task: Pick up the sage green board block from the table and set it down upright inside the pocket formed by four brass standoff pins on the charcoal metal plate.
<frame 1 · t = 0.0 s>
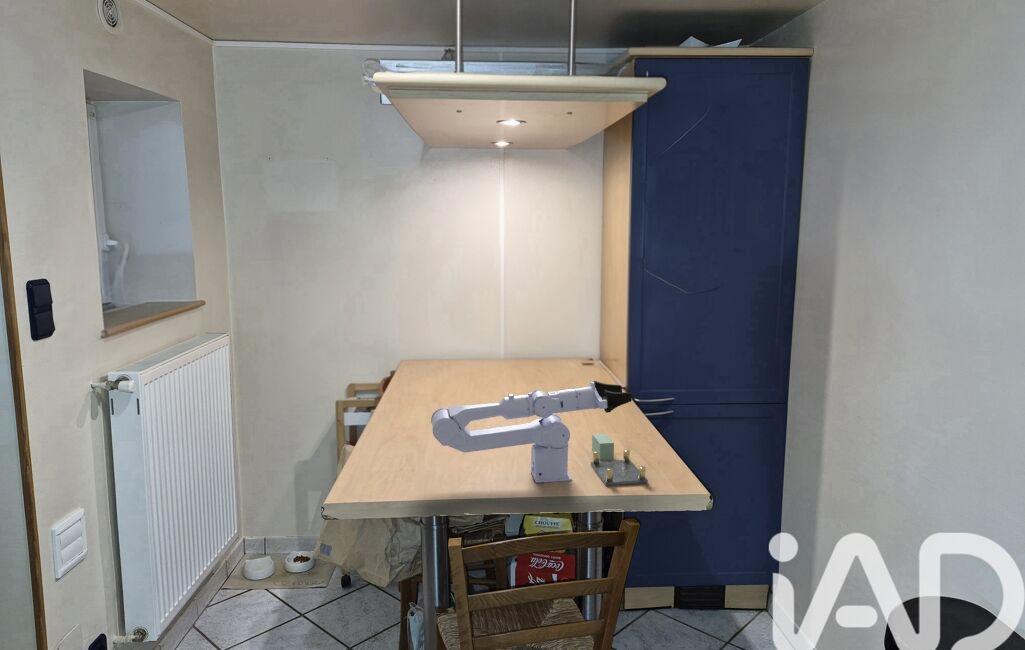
hand: (626, 393, 182), 22 cm above the table, tool horizontal, fingers open, 7 cm apart
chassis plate: (618, 474, 184), on the table
board block: (602, 455, 198), on the table
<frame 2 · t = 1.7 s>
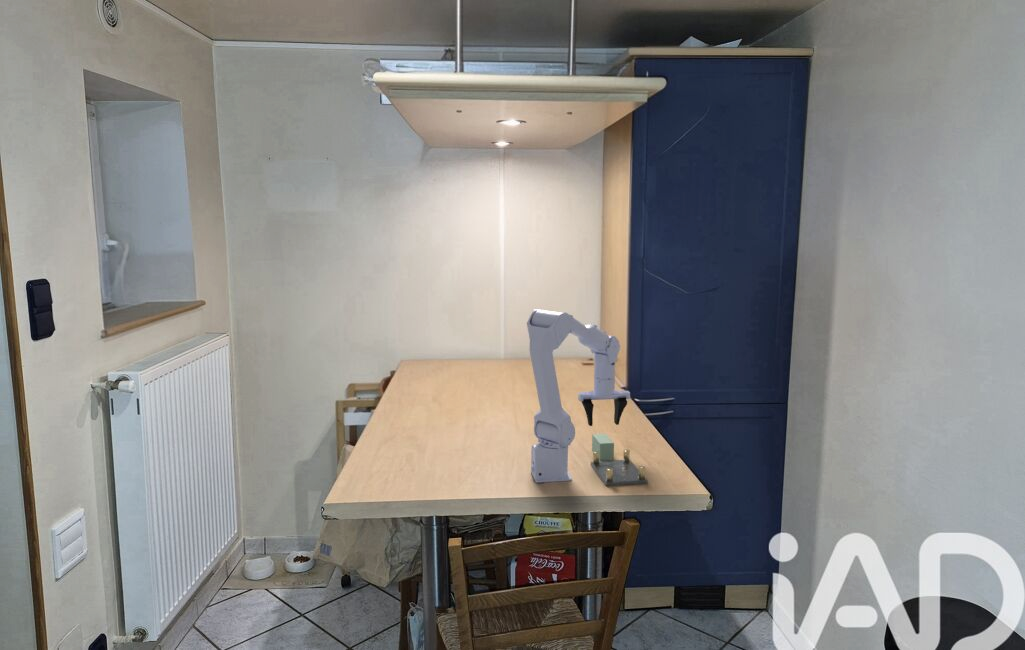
hand: (603, 424, 196), 9 cm above the table, tool pointing down, fingers open, 7 cm apart
nothing on the table moved.
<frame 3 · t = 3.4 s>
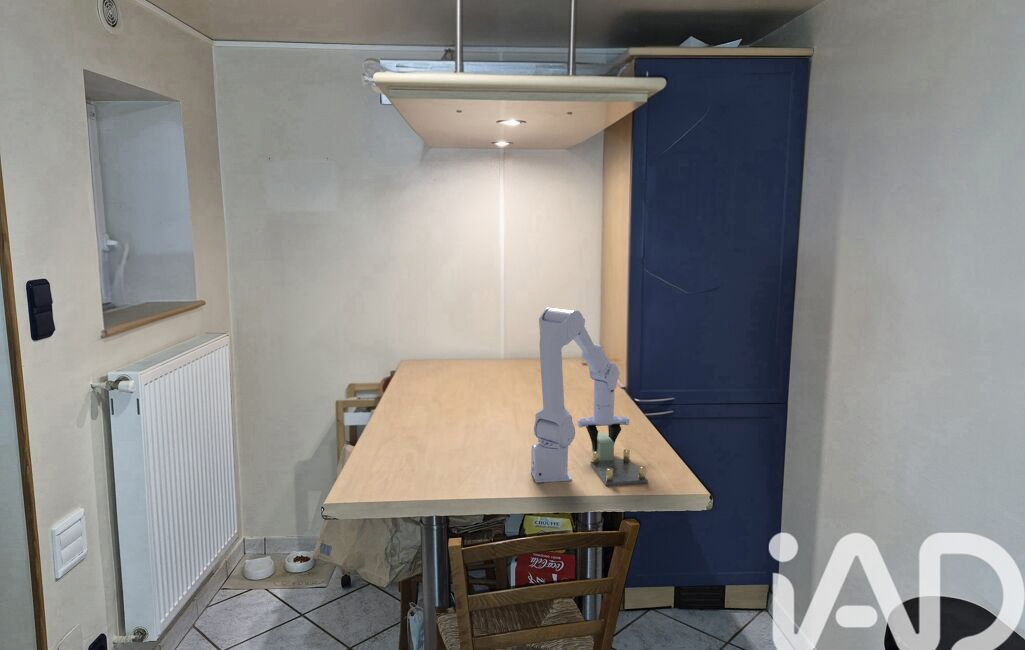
hand: (602, 450, 198), 1 cm above the table, tool pointing down, fingers closed on board block, 4 cm apart
board block: (602, 454, 198), on the table, touching gripper
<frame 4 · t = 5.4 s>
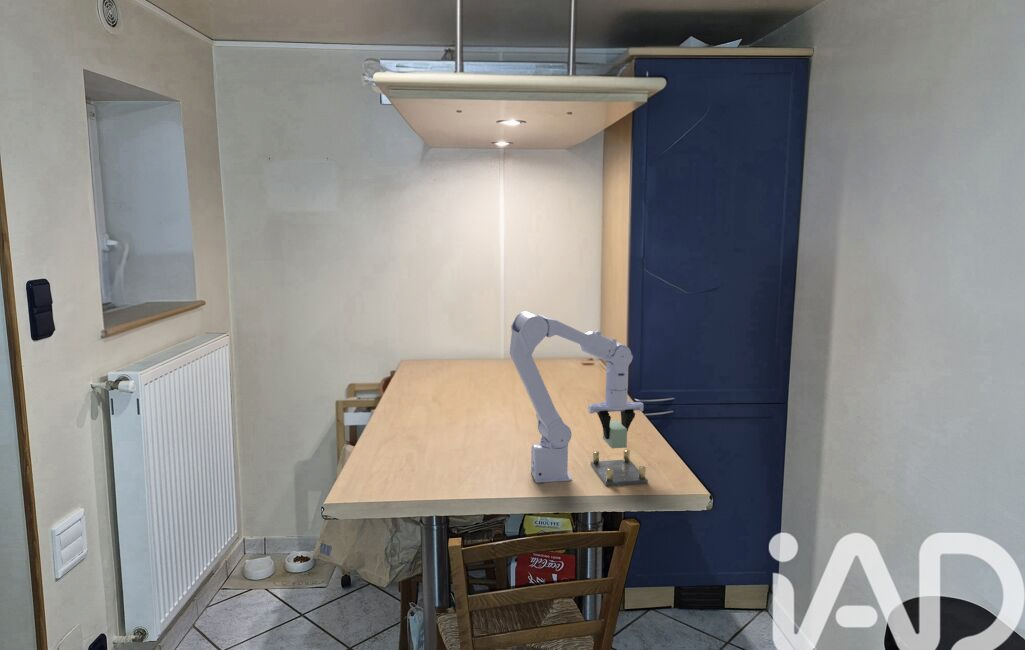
hand: (615, 437, 185), 9 cm above the table, tool pointing down, fingers closed on board block, 4 cm apart
board block: (614, 443, 186), point 7 cm above the table, touching gripper
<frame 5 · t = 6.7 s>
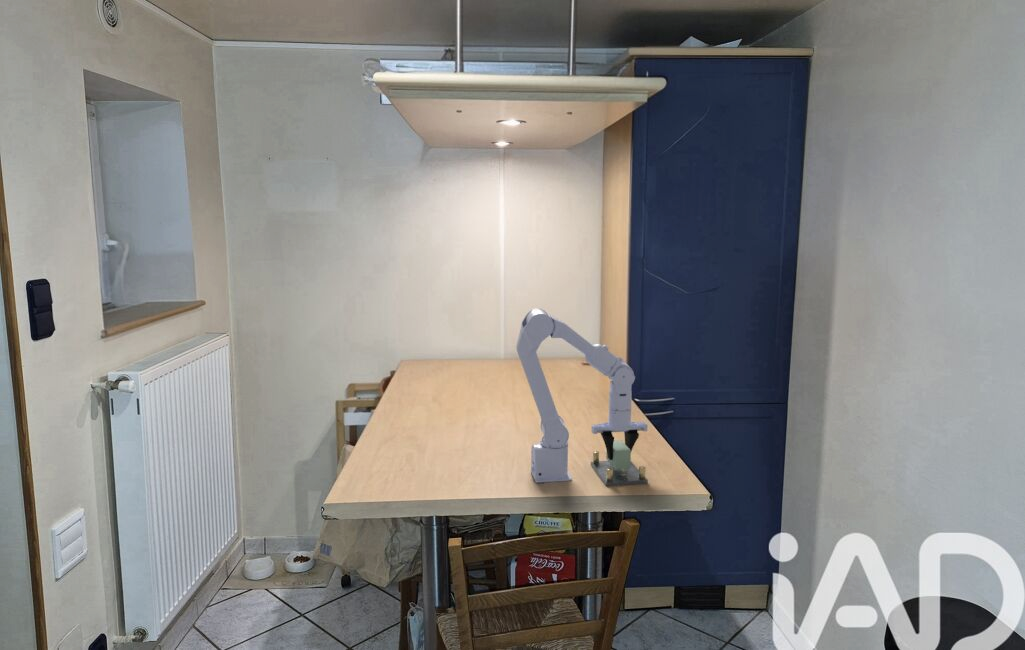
hand: (618, 458, 183), 4 cm above the table, tool pointing down, fingers closed on board block, 4 cm apart
board block: (618, 463, 184), point 3 cm above the table, touching gripper
when the fingers open (3 cm above the table, at t = 7.8 s): board block stays where it is, resting on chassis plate.
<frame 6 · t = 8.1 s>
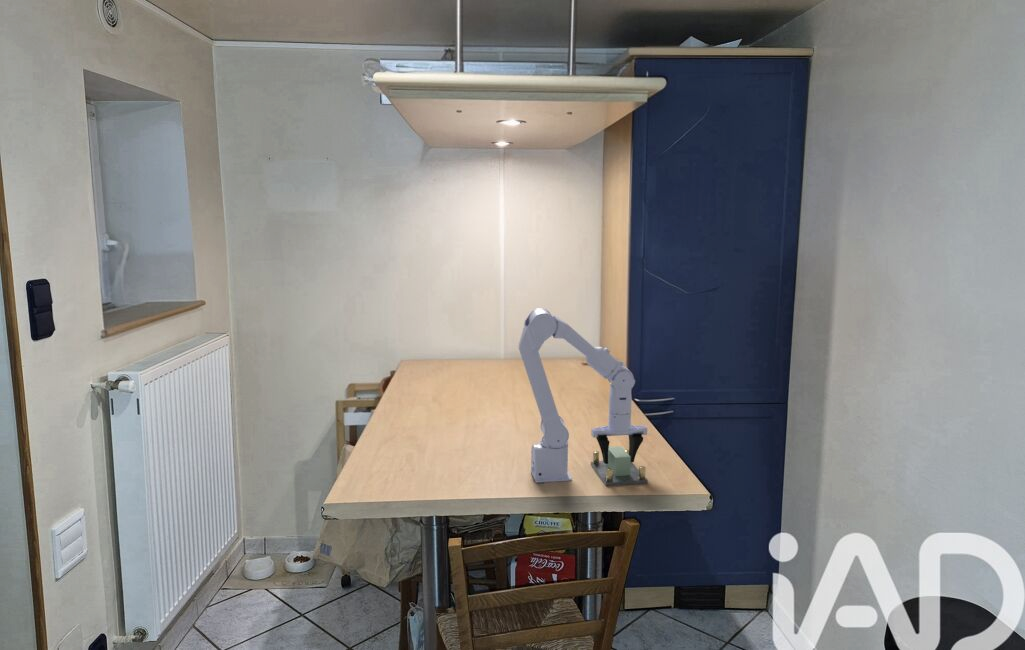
hand: (618, 461, 183), 3 cm above the table, tool pointing down, fingers open, 6 cm apart
board block: (617, 469, 184), point 1 cm above the table, touching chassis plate
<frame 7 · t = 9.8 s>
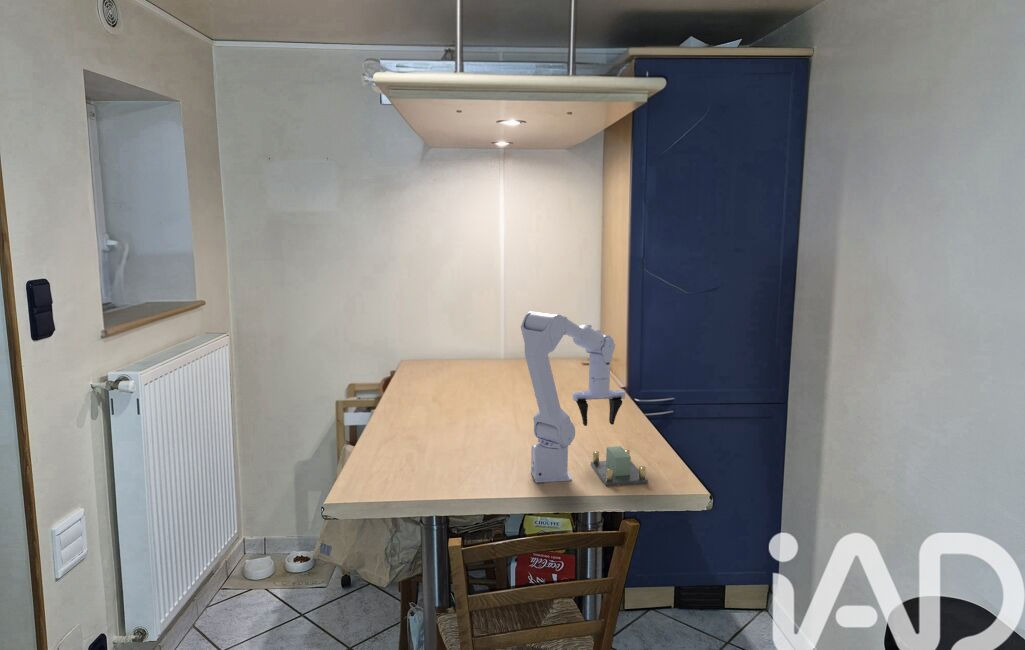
hand: (598, 424, 195), 9 cm above the table, tool pointing down, fingers open, 7 cm apart
nothing on the table moved.
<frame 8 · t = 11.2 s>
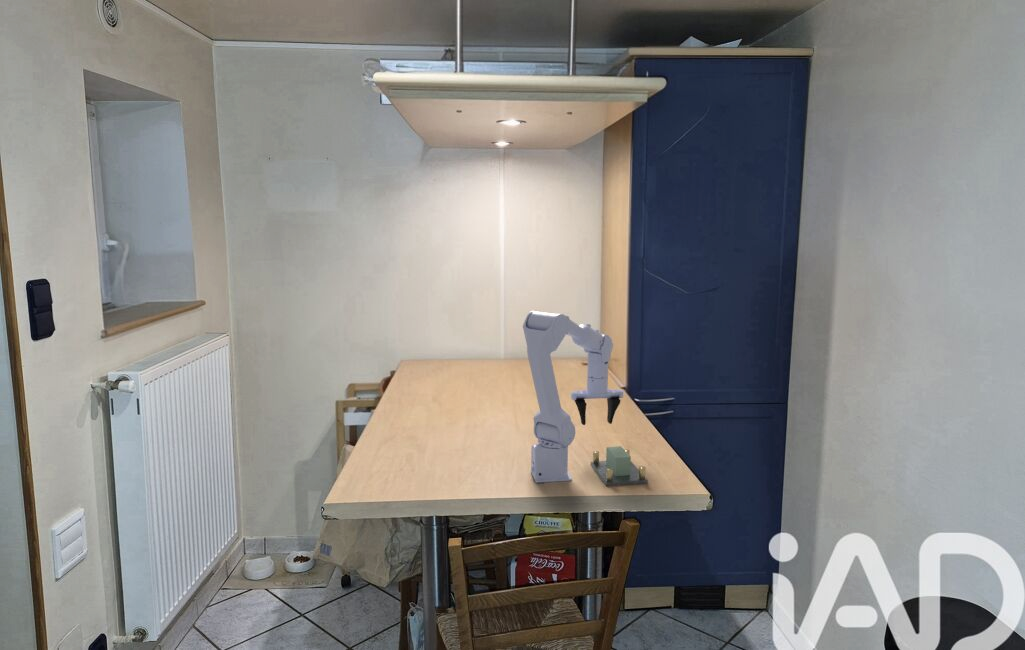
hand: (596, 423, 196), 9 cm above the table, tool pointing down, fingers open, 7 cm apart
nothing on the table moved.
at the end: board block 0.4 cm off-centre on the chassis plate, point 1.0 cm above the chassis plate's base; board block tilted 0°; the gripper is holding nothing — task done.
